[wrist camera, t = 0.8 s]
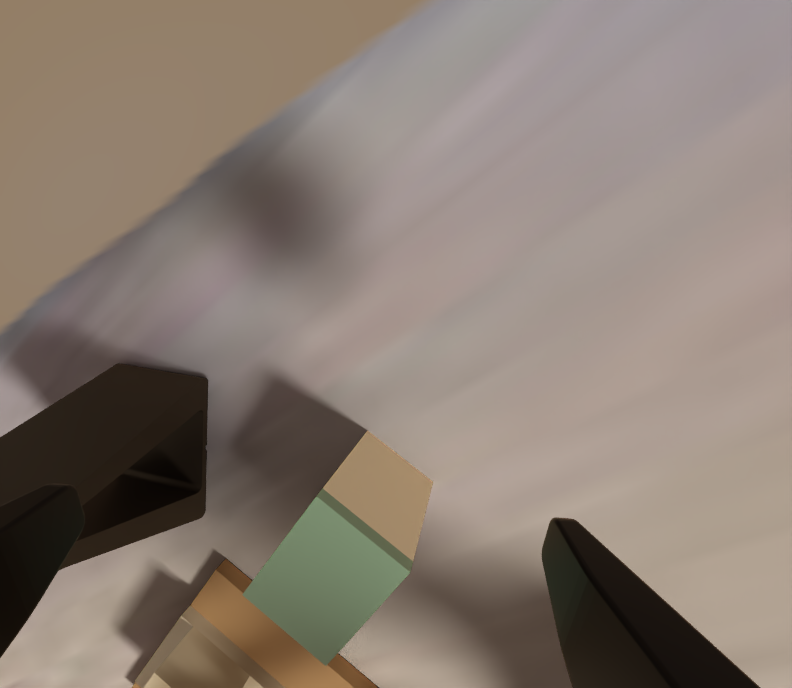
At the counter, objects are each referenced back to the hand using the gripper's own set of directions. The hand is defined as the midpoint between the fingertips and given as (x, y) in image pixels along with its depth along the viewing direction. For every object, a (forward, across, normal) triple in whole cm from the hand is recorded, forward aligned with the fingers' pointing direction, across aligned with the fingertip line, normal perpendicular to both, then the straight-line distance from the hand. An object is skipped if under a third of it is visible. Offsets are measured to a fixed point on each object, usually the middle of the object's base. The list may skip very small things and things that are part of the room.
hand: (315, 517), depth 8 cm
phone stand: (+15, +12, +10) cm, 22 cm away
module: (+12, -1, +10) cm, 16 cm away
